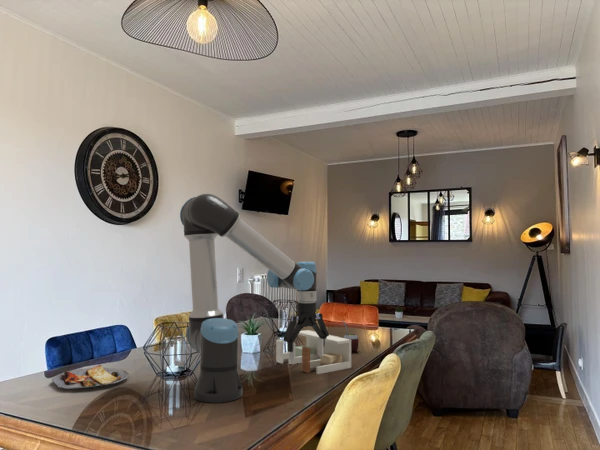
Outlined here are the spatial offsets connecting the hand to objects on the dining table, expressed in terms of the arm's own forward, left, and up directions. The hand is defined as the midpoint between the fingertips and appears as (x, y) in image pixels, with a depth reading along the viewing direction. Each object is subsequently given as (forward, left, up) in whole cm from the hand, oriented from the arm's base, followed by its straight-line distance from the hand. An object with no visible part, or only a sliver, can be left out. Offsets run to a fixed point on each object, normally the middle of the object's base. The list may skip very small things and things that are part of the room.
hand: (306, 358), depth 177 cm
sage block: (+7, +18, -5) cm, 20 cm away
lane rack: (+10, +9, -5) cm, 14 cm away
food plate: (-70, +33, -6) cm, 77 cm away
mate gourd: (+37, +16, -6) cm, 41 cm away
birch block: (+7, 0, -5) cm, 9 cm away
